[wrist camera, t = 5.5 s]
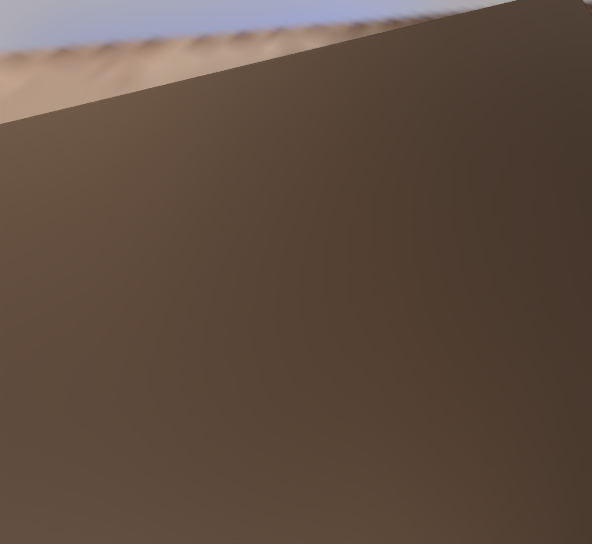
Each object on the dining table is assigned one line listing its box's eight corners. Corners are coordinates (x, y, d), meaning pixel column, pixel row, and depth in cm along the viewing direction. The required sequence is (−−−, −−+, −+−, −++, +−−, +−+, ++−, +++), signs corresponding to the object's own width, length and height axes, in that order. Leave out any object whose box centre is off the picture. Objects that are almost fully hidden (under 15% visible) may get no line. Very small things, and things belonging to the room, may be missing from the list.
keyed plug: (358, 477, 14) (1002, 682, 3) (204, 549, 13) (122, 1417, 2) (284, 291, 16) (494, -144, 4) (137, 343, 15) (-193, -34, 3)
